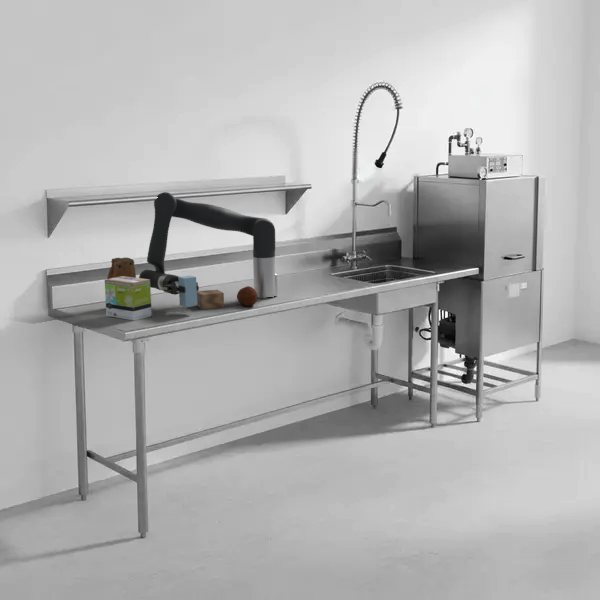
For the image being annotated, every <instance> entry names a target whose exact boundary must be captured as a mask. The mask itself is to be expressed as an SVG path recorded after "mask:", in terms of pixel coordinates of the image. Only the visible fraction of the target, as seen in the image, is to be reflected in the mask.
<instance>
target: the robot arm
mask: <svg viewBox="0 0 600 600" xmlns="http://www.w3.org/2000/svg"><path fill="white" fill-rule="evenodd" d="M157 195H158V196H157ZM157 195H156V197H158V198H157V199H156V200H155V199H154V200H153V208H154V221H153V228H152V232H151V236H150V237H151V238H150V241H149V245H148V252H147V258H146V262H147V263H148V264H149V265H152V266H154V269H155V270H151V269H144V270H142V271H141V272H140V274H139V275H138V276H139V277H138V278H142V279H150V289H151V288H153V289H156V290H159V291H162V292H163V293H167V294H170V295H175V296H176V295H179V292H182V293H185V292H186V291H185V287H182V286H179V280H178V277H180V276H179V275H176V274H170V273H166V272H165V257H166V252H167V246H168V237H169V236H168V235H169V229H170V224H171V221H172V220H171V219H172V218H179V219H184V220H187V221H190V222H193V223H195V224H197V225H202V226H204V227H207V228H211V229H216V230H220V231H221V230H222V231H229V232H239V233H243V234H247V235H248V236H252V239H253V240H252V241H253V244H252V245H253V246H252V247H253V248H252V255H253V256H252V261H253V262H252V264H253V265H252V267H253V289H255V291H256V292H257V297H258V298H257V299H267V298H266V297H273V298H275V297H274V296H276V297H278V296H277V295H278V274H277V273H276V228H275V225H274V223H273V222H272V221H271V220H270V219H268V218H266V217H265V218H264V217H255V216H250V215H245V214H241V213H239V212H237V211H234V210H231V209H228V208H225V207H221V206H219V205H218V206H217V205H214V204H209V203H203V202H201V203H200V202H192V201H191V202H190V201H186V200H184V199H181V198H178V199H175V198H176V197H175V196H174V195H173V194H172V193H170V192H165V191H164V192H160V193H159V194H157ZM196 285H197V286H196V287H197V291H200V288H199V284H198V282H197V281H196Z"/></svg>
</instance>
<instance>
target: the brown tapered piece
mask: <svg viewBox="0 0 600 600" xmlns="http://www.w3.org/2000/svg"><path fill="white" fill-rule="evenodd" d="M136 274H137V273H136V268H135V261H134V259H132V258H131V257H115V258H111V266H110V267H109V271H108V274H107V277H106V279H111V278H116V277H120V276H126V277H134V278H137V275H136Z"/></svg>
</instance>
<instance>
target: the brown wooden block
mask: <svg viewBox="0 0 600 600" xmlns="http://www.w3.org/2000/svg"><path fill="white" fill-rule="evenodd" d="M224 294H225V293H224V292H222V291H220V290H219V289H207V290H198V291H197V305H196V306H197V307H199V308H200V309H201V310H205V309H207V310H208V309H218V308H219V307H222V308H225V295H224ZM219 309H220V308H219Z"/></svg>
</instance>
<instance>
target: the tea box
mask: <svg viewBox="0 0 600 600" xmlns="http://www.w3.org/2000/svg"><path fill="white" fill-rule="evenodd" d="M104 291H105V309H106V310H105V313H106V317H110V318H111V317H112V318H117V319H118V318H119V319H124V320H129V321H133V320H135V321H138V320H142V319H146V318H150V317H152V297H151V296H152V295H151V294H152V292H151V287H150V279H142V278H139V277H136V278H134V277H126V276H120V277H116V278H111V279H107V278H106V279H104Z"/></svg>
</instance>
